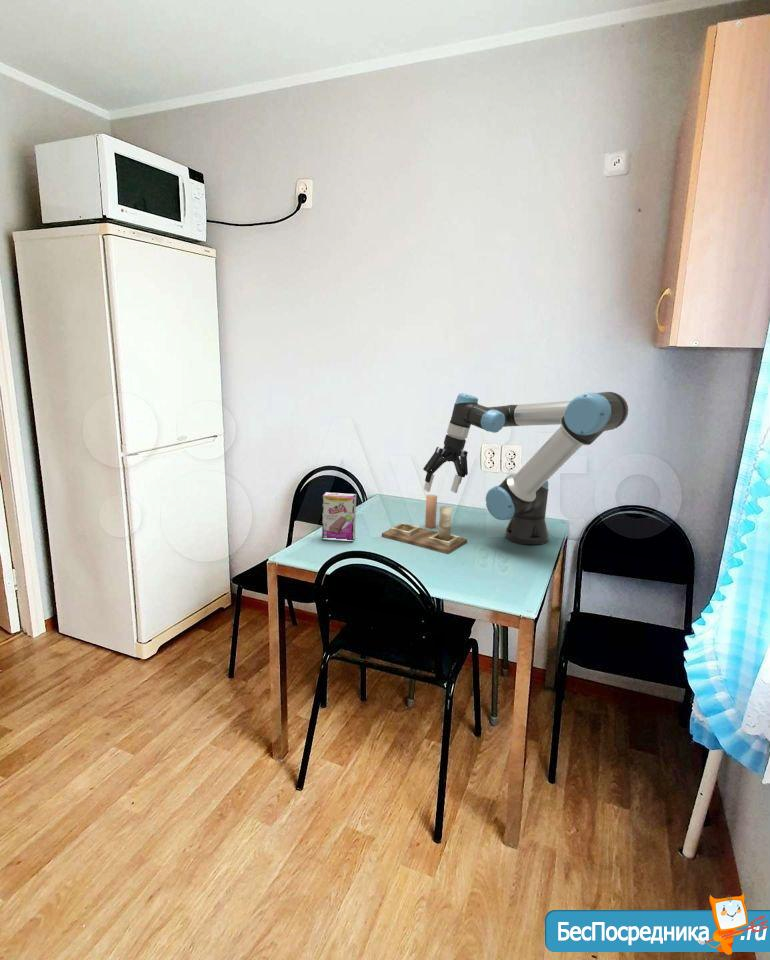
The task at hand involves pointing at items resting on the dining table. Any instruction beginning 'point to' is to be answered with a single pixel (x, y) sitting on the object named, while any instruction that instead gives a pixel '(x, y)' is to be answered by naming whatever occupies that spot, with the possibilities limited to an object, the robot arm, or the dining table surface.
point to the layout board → (428, 534)
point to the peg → (431, 511)
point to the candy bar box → (339, 515)
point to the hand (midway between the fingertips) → (440, 491)
